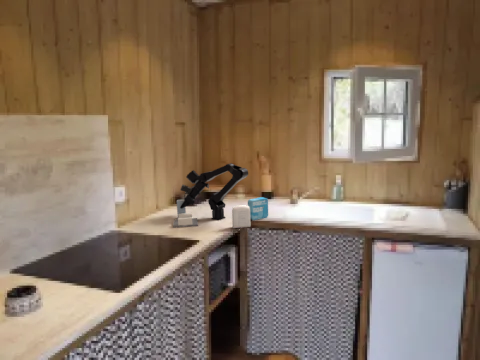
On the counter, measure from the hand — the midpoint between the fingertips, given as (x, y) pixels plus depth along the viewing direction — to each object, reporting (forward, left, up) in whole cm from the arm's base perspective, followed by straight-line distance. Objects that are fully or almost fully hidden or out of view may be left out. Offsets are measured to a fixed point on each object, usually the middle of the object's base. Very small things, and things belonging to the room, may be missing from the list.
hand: (180, 207), depth 237 cm
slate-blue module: (0, 0, -7) cm, 7 cm away
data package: (-44, -19, -7) cm, 49 cm away
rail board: (-10, +9, -7) cm, 15 cm away
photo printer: (-44, +2, -7) cm, 45 cm away
